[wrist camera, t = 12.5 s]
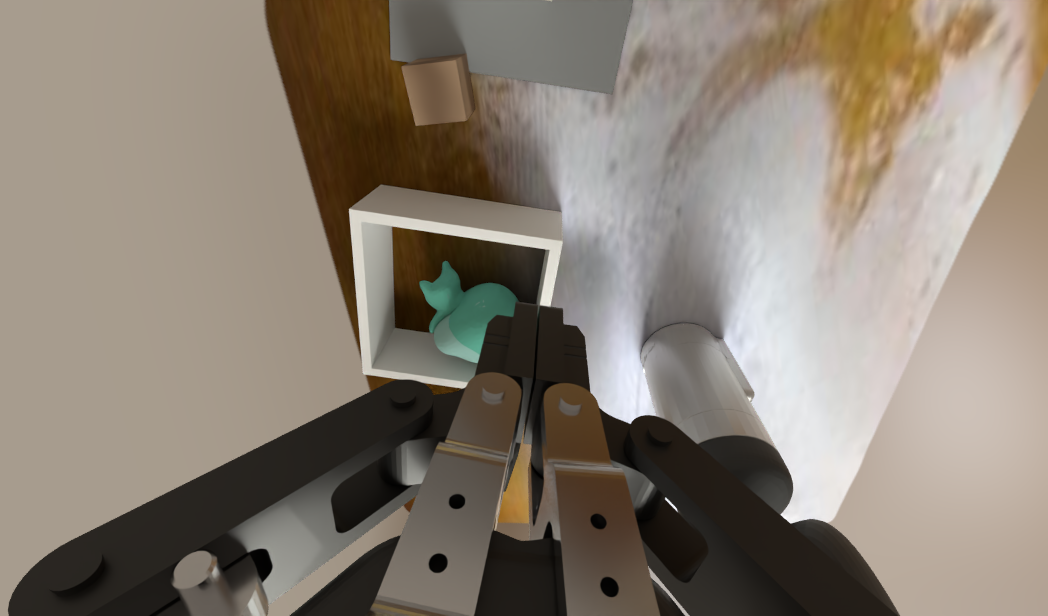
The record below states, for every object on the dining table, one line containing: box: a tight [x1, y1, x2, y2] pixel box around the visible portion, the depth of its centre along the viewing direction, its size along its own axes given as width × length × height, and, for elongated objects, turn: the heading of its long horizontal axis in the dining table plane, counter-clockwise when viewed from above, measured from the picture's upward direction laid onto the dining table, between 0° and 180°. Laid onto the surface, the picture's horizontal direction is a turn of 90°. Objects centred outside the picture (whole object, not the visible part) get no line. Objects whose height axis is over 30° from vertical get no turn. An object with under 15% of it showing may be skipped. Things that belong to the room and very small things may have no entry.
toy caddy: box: [349, 185, 563, 389], centre depth 46 cm, size 19×19×8 cm
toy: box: [419, 261, 519, 363], centre depth 47 cm, size 10×10×15 cm
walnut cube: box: [401, 54, 475, 126], centre depth 37 cm, size 4×4×4 cm
